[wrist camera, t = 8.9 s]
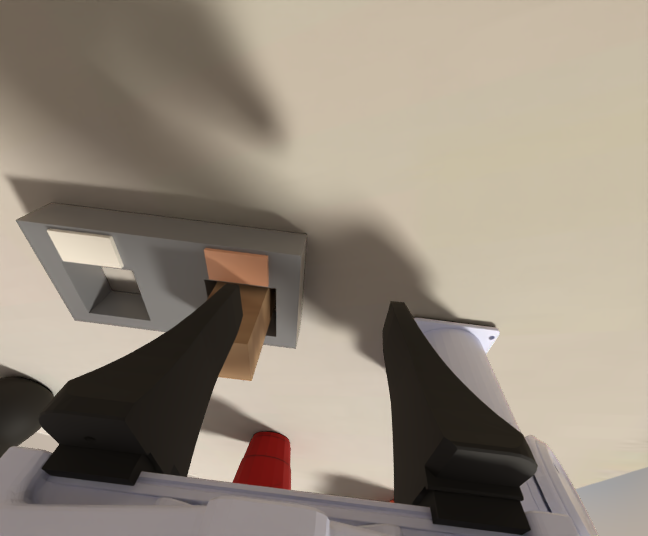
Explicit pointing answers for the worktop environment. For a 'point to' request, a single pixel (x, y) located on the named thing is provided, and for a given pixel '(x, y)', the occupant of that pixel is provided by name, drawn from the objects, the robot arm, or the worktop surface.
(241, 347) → the plug
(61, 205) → the socket block
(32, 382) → the cola bottle
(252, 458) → the plastic cup
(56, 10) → the worktop surface
